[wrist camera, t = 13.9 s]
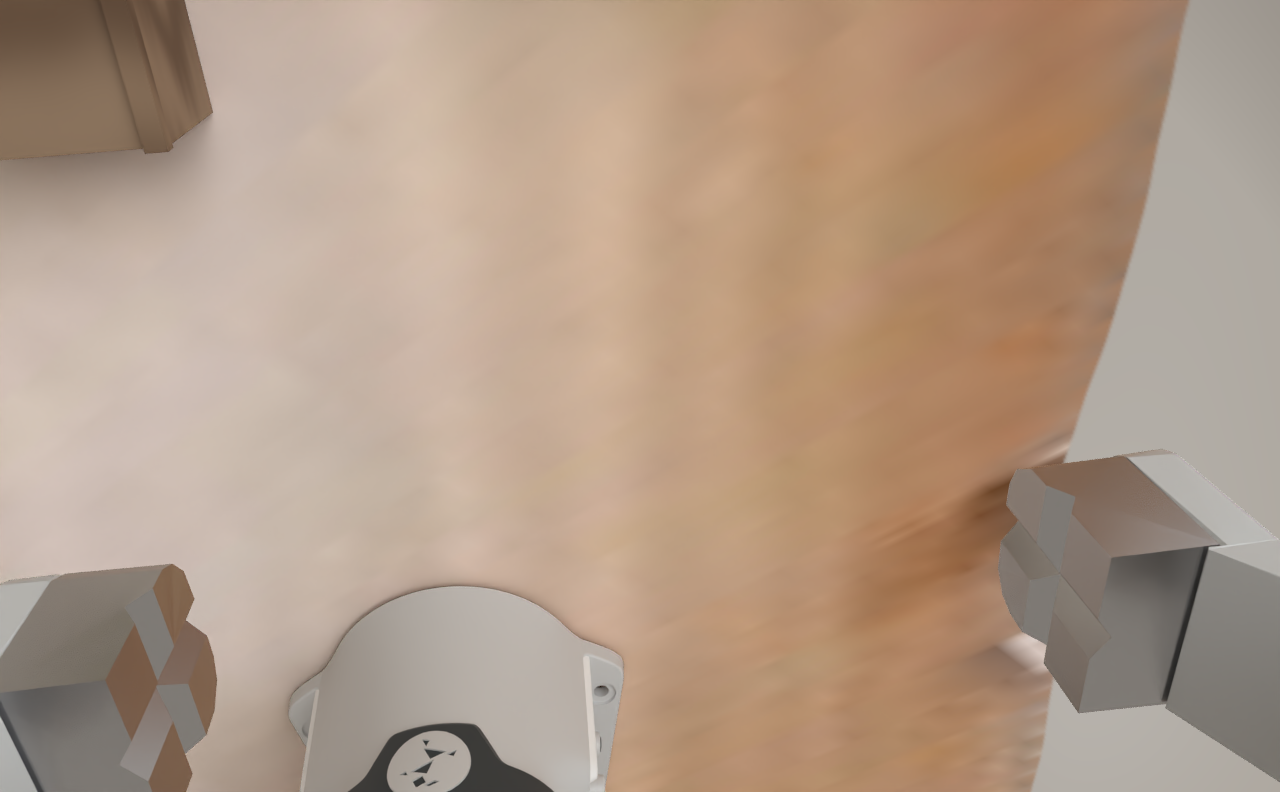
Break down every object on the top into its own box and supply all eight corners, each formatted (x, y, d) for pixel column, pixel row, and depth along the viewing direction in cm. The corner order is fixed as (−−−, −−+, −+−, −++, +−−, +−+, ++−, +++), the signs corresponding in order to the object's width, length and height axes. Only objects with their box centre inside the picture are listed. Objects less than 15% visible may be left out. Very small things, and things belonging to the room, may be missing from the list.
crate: (216, 114, 40) (167, 151, 35) (-17, 133, 40) (-104, 174, 34) (151, -140, 36) (84, -144, 30) (-111, -124, 35) (-229, -126, 30)
